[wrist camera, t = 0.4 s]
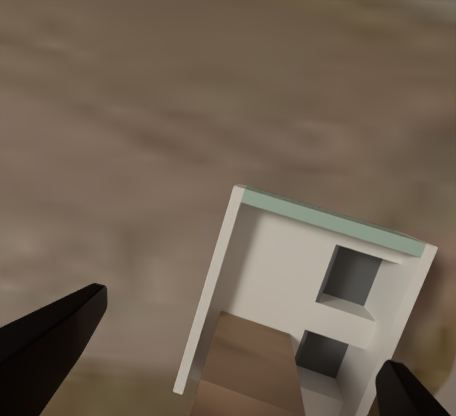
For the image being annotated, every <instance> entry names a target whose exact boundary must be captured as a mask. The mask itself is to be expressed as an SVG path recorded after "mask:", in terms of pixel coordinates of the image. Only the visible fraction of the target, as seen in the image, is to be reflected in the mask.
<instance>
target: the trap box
mask: <svg viewBox="0 0 456 416" xmlns="http://www.w3.org/2000/svg"><path fill="white" fill-rule="evenodd" d="M437 249H438V247H436V246H433V245H431V244H429V243H426V242H424V241H421V240H419V239H416V238H414V237H411V236H409V235H406V234H404V233H402V232H398V231H395V230H392V229H388V228H385V227H382V226H378V225H375V224H372V223H368V222H365V221H362V220H359V219H355V218H352V217H349V216H345V215H342V214H339V213H335V212H332V211H329V210H325V209H322V208H319V207H315V206H312V205H309V204H306V203H302V202H299V201H296V200H292V199H289V198H286V197H282V196H279V195H276V194H272V193H269V192H266V191H262V190H259V189H256V188H253V187H249V186H246V185H243V184H237V185H234V188H233V191H232V194H231V198H230V201H229V204H228V208H227V211H226V214H225V218H224V221H223V225H222V228H221V231H220V235H219V238H218V241H217V245H216V248H215V251H214V255H213V258H212V262H211V265H210V268H209V272H208V275H207V278H206V282H205V285H204V288H203V292H202V295H201V299H200V302H199V305H198V309H197V312H196V315H195V319H194V322H193V325H192V329H191V332H190V335H189V339H188V342H187V346H186V349H185V352H184V356H183V359H182V362H181V366H180V369H179V372H178V376H177V379H176V383H175V386H174V389H173V392H176V393H179V394H181V395H182V394H183V391H184V388H185V385H186V382H187V380H188V377H190V378H192V379H195V380H198V381H199V380H200V377H201V373H202V370H203V367H204V364H205V360H206V357H207V354H208V351H209V348H210V344H211V341H212V338H213V335H214V332H215V328H216V325H217V322H218V319H219V315H220V312H221V311H224V312H227V313H230V314H233V315H236V316H239V317H241V318H244V319H247V320H250V321H253V322H256V323H259V324H262V325H265V326H268V327H271V328H274V329H277V330H280V331H283V332H286V333H289V334H290V336H291V341H292V347H293V352H294V357H295V362H296V368H297V373H298V378H299V383H300V389H301V394H302V399H303V404H304V410H305V415H306V416H367V415H368V413H369V410H370V408H371V405H372V403H373V401H374V398H375V396H376V394H377V393H376V386H375V379H376V375H377V374H378V372H379V370H380V369H381V367H382V365H383V364H384V362H385V361H386V360H388V359H390V360H391V358H392V356H393V353H394V351H395V349H396V346H397V344H398V342H399V339H400V337H401V334H402V332H403V330H404V327H405V325H406V323H407V320H408V318H409V316H410V313H411V311H412V308H413V306H414V304H415V301H416V299H417V297H418V294H419V292H420V289H421V287H422V285H423V282H424V280H425V278H426V275H427V273H428V271H429V268H430V266H431V263H432V261H433V259H434V256H435V254H436V252H437Z"/></svg>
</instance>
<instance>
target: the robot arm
mask: <svg viewBox="0 0 456 416" xmlns="http://www.w3.org/2000/svg"><path fill="white" fill-rule="evenodd" d="M106 309H107V287H106V286H105V285H101V284H97V283H93V284H90V285H88V286H86V287H84V288H82V289H80V290H78V291H76V292H74V293H72V294H70V295H67V296H65V297H63V298H61V299H59V300H57V301H55V302H53V303H51V304H49V305H47V306H45V307H42V308H40V309H38V310H36V311H34V312H32V313H30V314H28V315H26V316H24V317H22V318H20V319H17V320H15V321H13V322H11V323H9V324H7V325H5V326H3V327H1V328H0V416H39V415H40V414H41V412H42V411H43V409H44V408H45V406H46V405H47V404H48V402H49V401H50V399H51V398H52V396H53V395H54V393H55V392H56V391H57V389H58V388H59V386H60V385H61V383H62V382H63V380H64V379H65V378H66V376H67V375H68V373H69V372H70V370H71V369H72V367H73V366H74V365H75V363H76V362H77V360H78V359H79V357H80V356H81V354H82V352H83V351H84V349H85V347H86V345H87V343H88V342H89V340H90V338H91V336H92V335H93V333H94V331H95V329H96V327H97V326H98V324H99V322H100V320H101V318H102V317H103V315H104V313H105V311H106ZM375 386H376V393H377V400H378V407H379V415H380V416H450V414H448V412H447V411H446V410H445V409H444V408H443V407H442V406H441V405H440V404H439V402H438V401H437V400H436V399H435V398H434V397H433V396H432V395H431V393H430V392H429V391H428V390H427V389H426V388H425V387H424V386H423V385H422V384H421V382H420V381H419V380H418V379H417V378H416V377H415V376H414V375H413V374H412V373H411V371H410V370H409V369H408V368H407V367H406V366H405V365H404V364H403V363H401V362H398V361H394V360H390V359H388V360H386V361H385V362H384V364H383V365H382V367H381V369H380V370H379V372H378V374H377V375H376V379H375Z"/></svg>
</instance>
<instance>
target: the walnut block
mask: <svg viewBox="0 0 456 416" xmlns="http://www.w3.org/2000/svg"><path fill="white" fill-rule="evenodd" d="M189 416H306V415H305V410H304V404H303V399H302V394H301V389H300V383H299V378H298V373H297V368H296V362H295V357H294V352H293V347H292V341H291V336H290V334H289V333H286V332H283V331H280V330H277V329H274V328H271V327H268V326H265V325H262V324H259V323H256V322H253V321H250V320H247V319H244V318H241V317H239V316H236V315H233V314H230V313H227V312H224V311H221V312H220V315H219V319H218V322H217V325H216V328H215V332H214V335H213V338H212V341H211V344H210V348H209V351H208V354H207V357H206V360H205V364H204V367H203V370H202V373H201V377H200V380H199V384H198V387H197V390H196V394H195V397H194V401H193V404H192V407H191V411H190V414H189Z"/></svg>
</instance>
